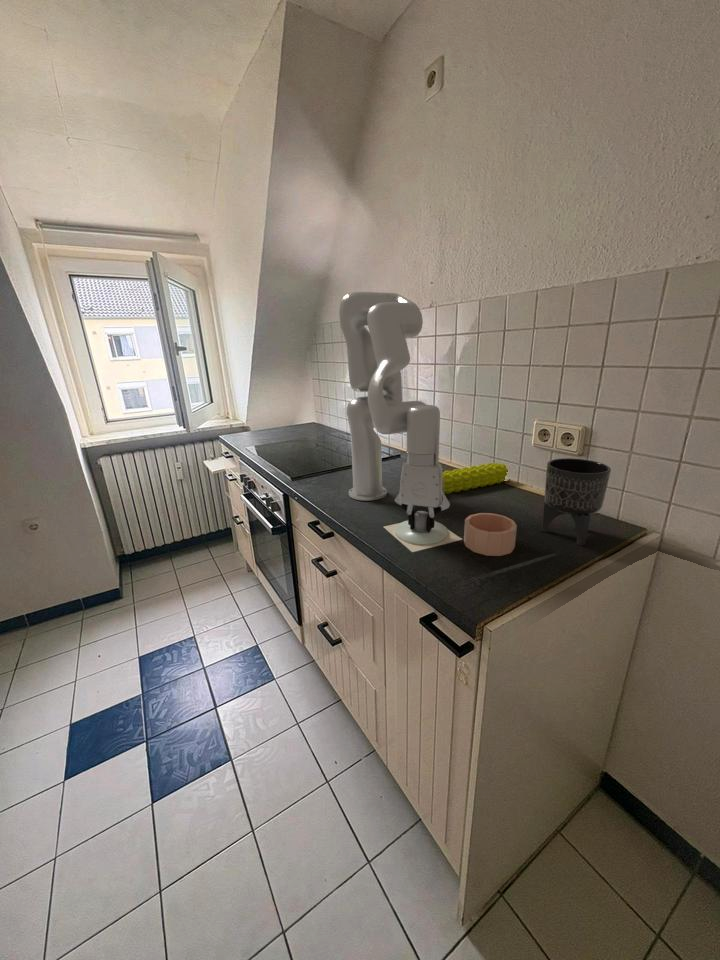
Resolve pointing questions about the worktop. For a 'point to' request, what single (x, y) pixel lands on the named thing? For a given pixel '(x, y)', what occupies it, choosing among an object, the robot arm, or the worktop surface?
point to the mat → (413, 548)
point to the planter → (574, 492)
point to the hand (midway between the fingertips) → (421, 528)
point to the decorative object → (473, 477)
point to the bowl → (490, 534)
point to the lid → (421, 531)
